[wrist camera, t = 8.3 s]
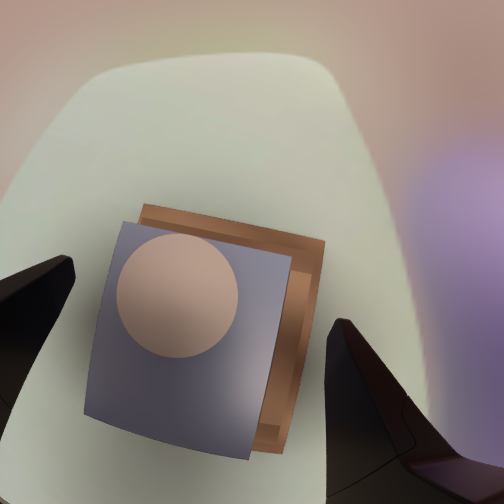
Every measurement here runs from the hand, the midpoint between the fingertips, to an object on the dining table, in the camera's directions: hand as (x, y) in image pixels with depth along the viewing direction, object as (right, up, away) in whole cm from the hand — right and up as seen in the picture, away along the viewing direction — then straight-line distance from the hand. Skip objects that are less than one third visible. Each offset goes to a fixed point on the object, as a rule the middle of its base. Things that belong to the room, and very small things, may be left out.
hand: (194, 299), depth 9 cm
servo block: (-1, -3, +8) cm, 9 cm away
